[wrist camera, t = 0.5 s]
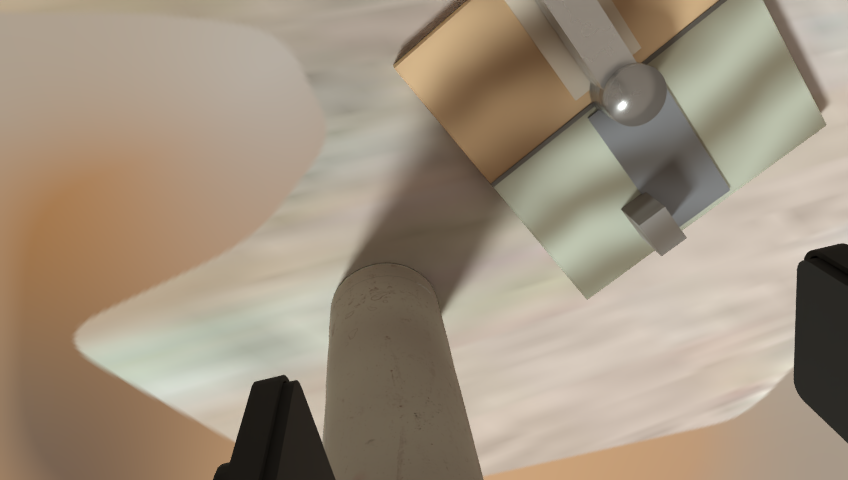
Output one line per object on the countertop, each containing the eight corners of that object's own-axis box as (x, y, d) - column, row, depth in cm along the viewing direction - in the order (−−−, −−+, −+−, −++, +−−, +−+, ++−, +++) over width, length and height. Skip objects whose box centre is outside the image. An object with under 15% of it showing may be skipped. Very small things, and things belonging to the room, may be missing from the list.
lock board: (393, 65, 38) (397, 76, 34) (662, -173, 34) (701, -190, 30) (581, 292, 46) (602, 321, 42) (814, 120, 43) (859, 136, 39)
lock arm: (654, 90, 39) (687, 103, 35) (608, 126, 39) (635, 143, 36) (540, -89, 34) (564, -96, 30) (490, -44, 35) (507, -45, 31)
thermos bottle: (383, 373, 47) (419, 843, 22) (307, 312, 44) (248, 773, 19) (459, 309, 46) (594, 737, 20) (386, 241, 43) (436, 642, 17)
